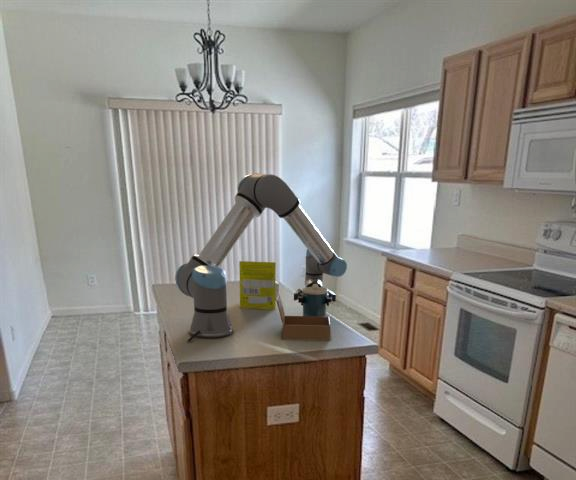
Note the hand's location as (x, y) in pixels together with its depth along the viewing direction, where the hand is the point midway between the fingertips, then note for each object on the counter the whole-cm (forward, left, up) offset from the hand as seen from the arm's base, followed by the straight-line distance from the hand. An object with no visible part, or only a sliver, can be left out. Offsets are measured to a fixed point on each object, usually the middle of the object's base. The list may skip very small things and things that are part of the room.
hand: (315, 302), depth 200 cm
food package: (+7, +36, -10) cm, 38 cm away
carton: (-9, -4, -10) cm, 14 cm away
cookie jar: (+4, +3, -10) cm, 11 cm away
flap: (-15, +4, 0) cm, 16 cm away
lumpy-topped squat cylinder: (+24, +48, -10) cm, 55 cm away
